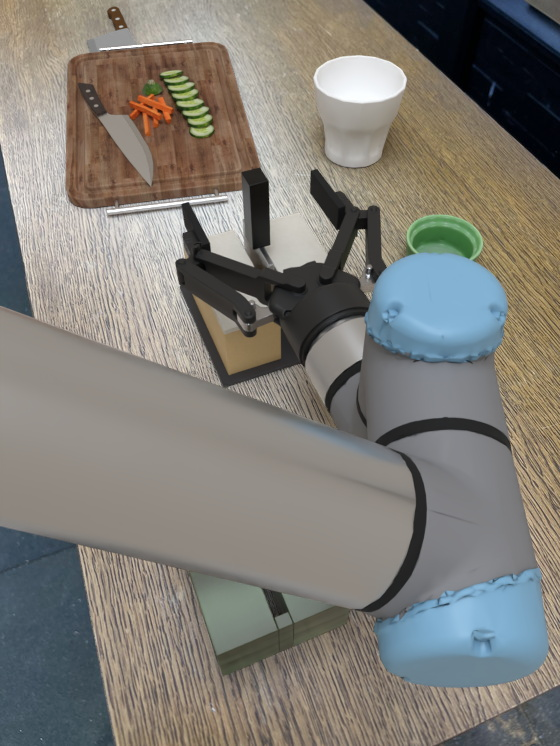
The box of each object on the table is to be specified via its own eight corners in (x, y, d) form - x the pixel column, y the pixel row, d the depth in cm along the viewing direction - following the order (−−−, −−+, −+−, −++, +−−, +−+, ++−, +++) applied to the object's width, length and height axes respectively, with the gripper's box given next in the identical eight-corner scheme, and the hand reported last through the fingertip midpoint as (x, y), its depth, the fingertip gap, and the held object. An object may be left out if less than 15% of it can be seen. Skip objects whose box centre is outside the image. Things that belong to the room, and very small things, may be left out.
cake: (359, 344, 72) (366, 295, 66) (223, 388, 68) (217, 341, 62) (302, 254, 81) (303, 204, 75) (179, 289, 78) (170, 239, 72)
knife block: (346, 623, 53) (352, 598, 49) (222, 677, 51) (216, 656, 46) (290, 501, 60) (291, 469, 56) (179, 542, 58) (169, 513, 53)
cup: (392, 127, 98) (403, 54, 90) (399, 177, 91) (411, 102, 82) (310, 127, 99) (313, 54, 90) (310, 176, 91) (313, 101, 82)
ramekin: (418, 298, 76) (424, 270, 73) (390, 249, 82) (394, 221, 78) (487, 283, 78) (497, 255, 74) (455, 236, 83) (463, 208, 80)
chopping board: (268, 198, 88) (267, 179, 86) (67, 223, 85) (61, 203, 83) (223, 41, 115) (222, 23, 113) (69, 56, 112) (64, 37, 110)
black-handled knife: (281, 321, 74) (280, 197, 60) (265, 326, 73) (260, 202, 60) (256, 276, 78) (250, 151, 65) (240, 280, 78) (231, 156, 64)
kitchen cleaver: (75, 14, 121) (128, 3, 123) (77, 20, 122) (129, 8, 124) (99, 77, 107) (157, 63, 109) (101, 83, 108) (159, 69, 110)
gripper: (203, 420, 53) (137, 258, 65) (465, 332, 59) (359, 197, 71) (192, 363, 47) (122, 196, 59) (485, 271, 53) (366, 135, 65)
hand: (251, 196), depth 65 cm, fingers open, 13 cm apart
